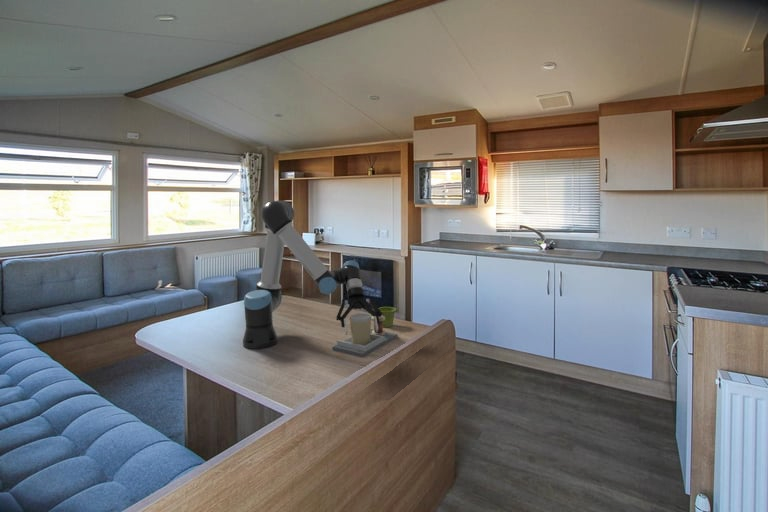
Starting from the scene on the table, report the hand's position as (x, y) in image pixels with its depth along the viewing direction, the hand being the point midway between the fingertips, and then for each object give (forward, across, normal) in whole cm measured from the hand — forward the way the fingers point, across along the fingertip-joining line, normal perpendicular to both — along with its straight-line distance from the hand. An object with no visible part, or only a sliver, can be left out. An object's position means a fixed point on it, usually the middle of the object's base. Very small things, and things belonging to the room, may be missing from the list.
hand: (361, 332), depth 178 cm
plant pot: (-14, -18, -25) cm, 34 cm away
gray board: (+2, -3, -9) cm, 9 cm away
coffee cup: (+2, 0, -6) cm, 6 cm away
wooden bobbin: (-4, -10, -12) cm, 17 cm away
